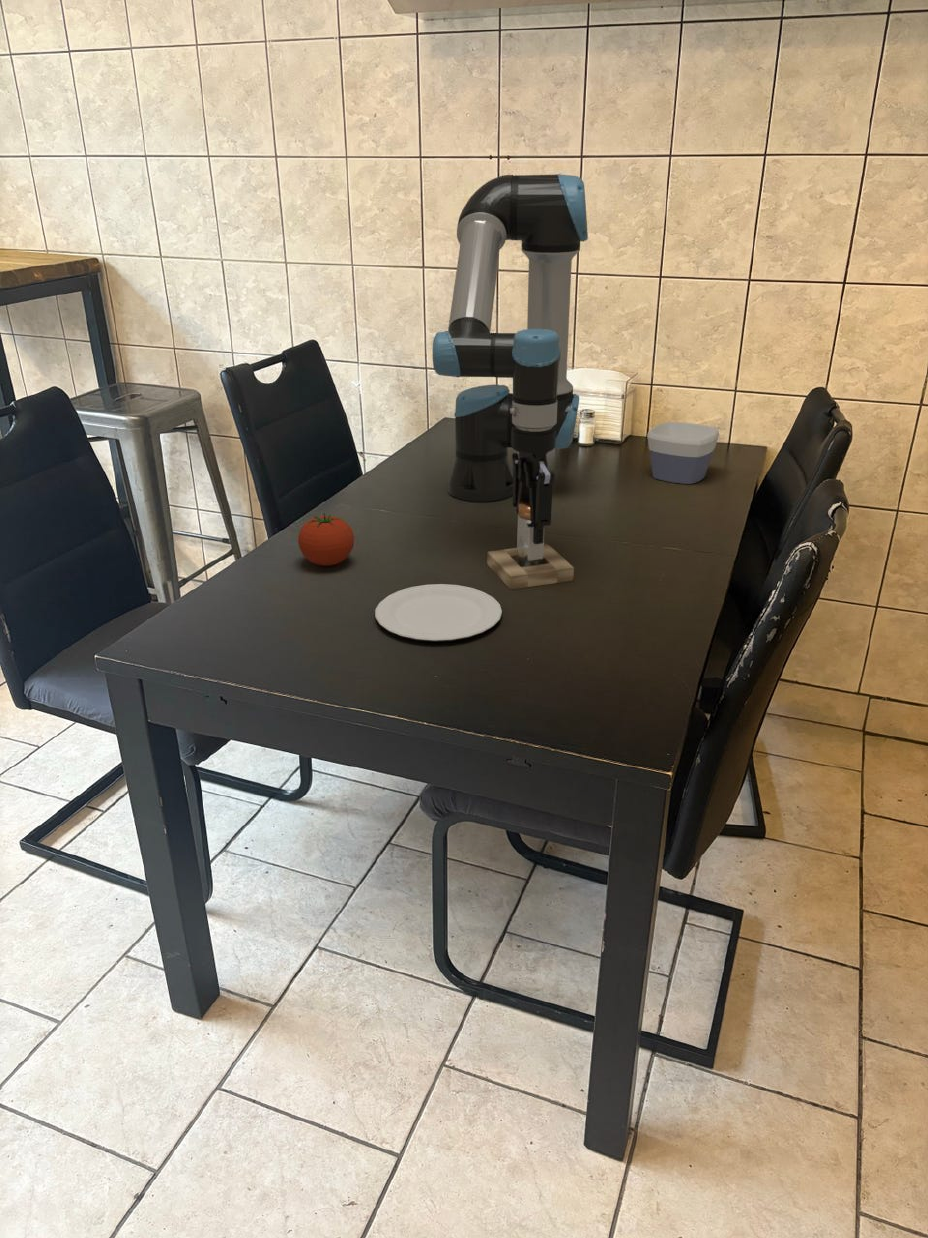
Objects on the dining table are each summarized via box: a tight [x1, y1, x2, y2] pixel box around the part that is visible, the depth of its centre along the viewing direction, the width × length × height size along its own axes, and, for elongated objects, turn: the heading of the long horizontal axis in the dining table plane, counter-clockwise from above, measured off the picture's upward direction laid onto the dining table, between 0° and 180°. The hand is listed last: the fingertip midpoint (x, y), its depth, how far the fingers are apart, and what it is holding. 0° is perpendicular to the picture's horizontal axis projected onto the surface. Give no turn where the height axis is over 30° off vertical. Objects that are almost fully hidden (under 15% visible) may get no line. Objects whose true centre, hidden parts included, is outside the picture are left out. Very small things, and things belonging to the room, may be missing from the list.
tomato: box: [297, 512, 355, 567], centre depth 168 cm, size 10×10×10 cm
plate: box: [374, 583, 503, 643], centre depth 150 cm, size 21×21×2 cm
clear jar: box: [517, 500, 542, 567], centre depth 163 cm, size 4×4×13 cm
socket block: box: [486, 543, 575, 590], centre depth 165 cm, size 12×12×2 cm
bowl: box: [646, 421, 720, 485], centre depth 214 cm, size 15×15×11 cm
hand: (529, 553), depth 164 cm, fingers closed on clear jar, 4 cm apart
